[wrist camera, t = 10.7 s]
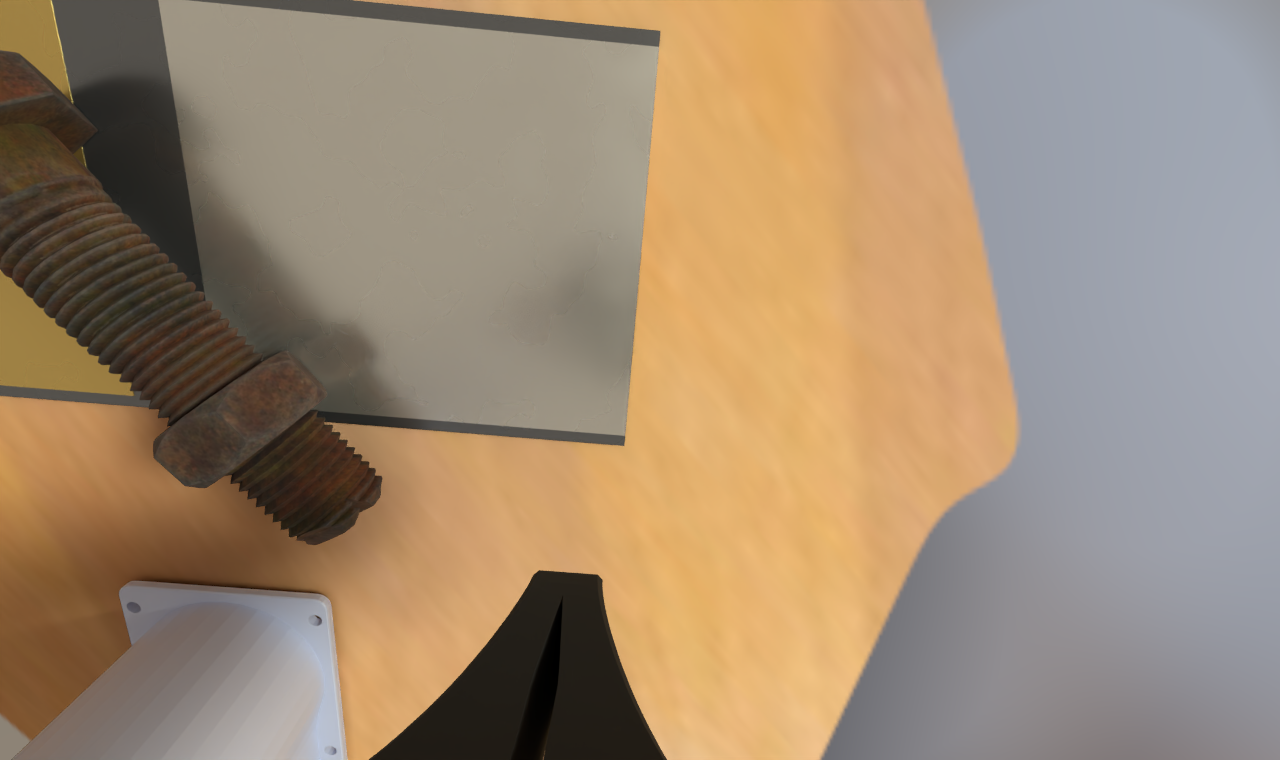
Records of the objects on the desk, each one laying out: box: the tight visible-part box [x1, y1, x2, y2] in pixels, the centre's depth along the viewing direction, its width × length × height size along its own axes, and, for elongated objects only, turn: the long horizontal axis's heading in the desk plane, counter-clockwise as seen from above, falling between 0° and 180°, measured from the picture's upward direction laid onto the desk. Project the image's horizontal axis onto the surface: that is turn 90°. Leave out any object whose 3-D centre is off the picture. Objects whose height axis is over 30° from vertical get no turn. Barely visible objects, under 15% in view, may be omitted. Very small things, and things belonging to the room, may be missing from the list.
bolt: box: [0, 50, 382, 545], centre depth 18 cm, size 6×5×15 cm
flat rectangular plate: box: [0, 0, 660, 446], centre depth 19 cm, size 13×28×1 cm, turn 85°
